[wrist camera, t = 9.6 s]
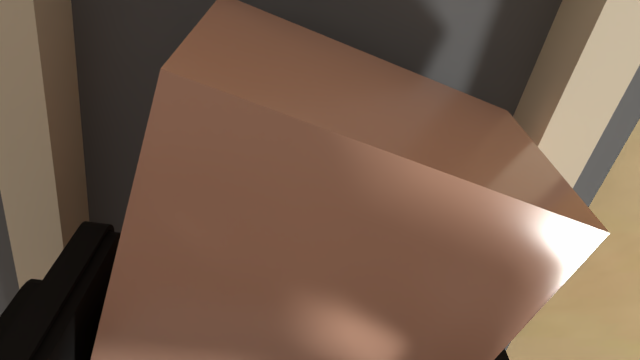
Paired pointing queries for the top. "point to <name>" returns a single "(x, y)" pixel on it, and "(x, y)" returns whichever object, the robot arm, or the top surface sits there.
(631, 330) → the top surface
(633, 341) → the top surface
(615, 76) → the pocket mat
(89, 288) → the robot arm
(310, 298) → the salmon pink brick
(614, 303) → the top surface
